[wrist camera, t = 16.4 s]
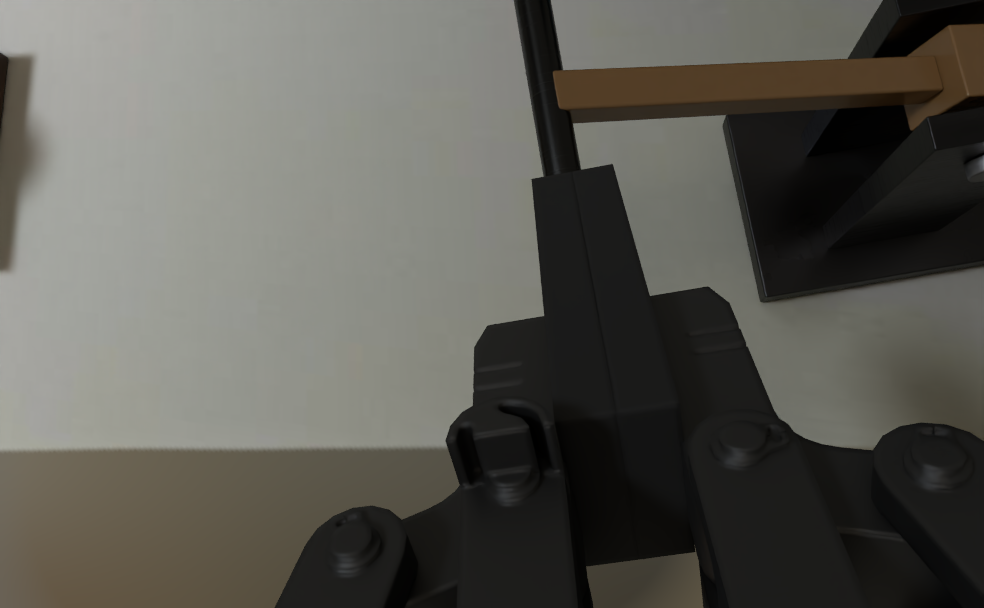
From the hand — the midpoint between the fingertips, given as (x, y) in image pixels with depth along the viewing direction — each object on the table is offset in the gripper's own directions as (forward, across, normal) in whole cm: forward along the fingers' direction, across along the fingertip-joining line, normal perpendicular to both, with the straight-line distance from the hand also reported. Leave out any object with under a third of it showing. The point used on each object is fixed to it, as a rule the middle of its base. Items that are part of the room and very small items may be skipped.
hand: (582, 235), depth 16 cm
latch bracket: (+18, -12, +11) cm, 24 cm away
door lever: (+10, -6, +2) cm, 12 cm away
